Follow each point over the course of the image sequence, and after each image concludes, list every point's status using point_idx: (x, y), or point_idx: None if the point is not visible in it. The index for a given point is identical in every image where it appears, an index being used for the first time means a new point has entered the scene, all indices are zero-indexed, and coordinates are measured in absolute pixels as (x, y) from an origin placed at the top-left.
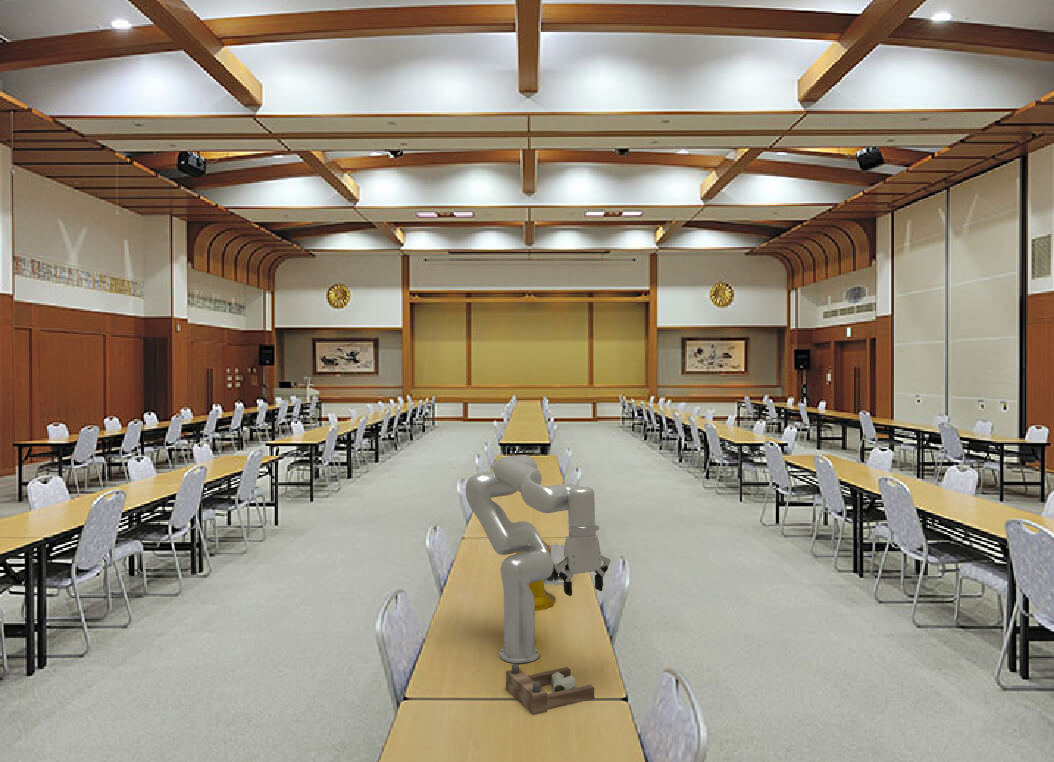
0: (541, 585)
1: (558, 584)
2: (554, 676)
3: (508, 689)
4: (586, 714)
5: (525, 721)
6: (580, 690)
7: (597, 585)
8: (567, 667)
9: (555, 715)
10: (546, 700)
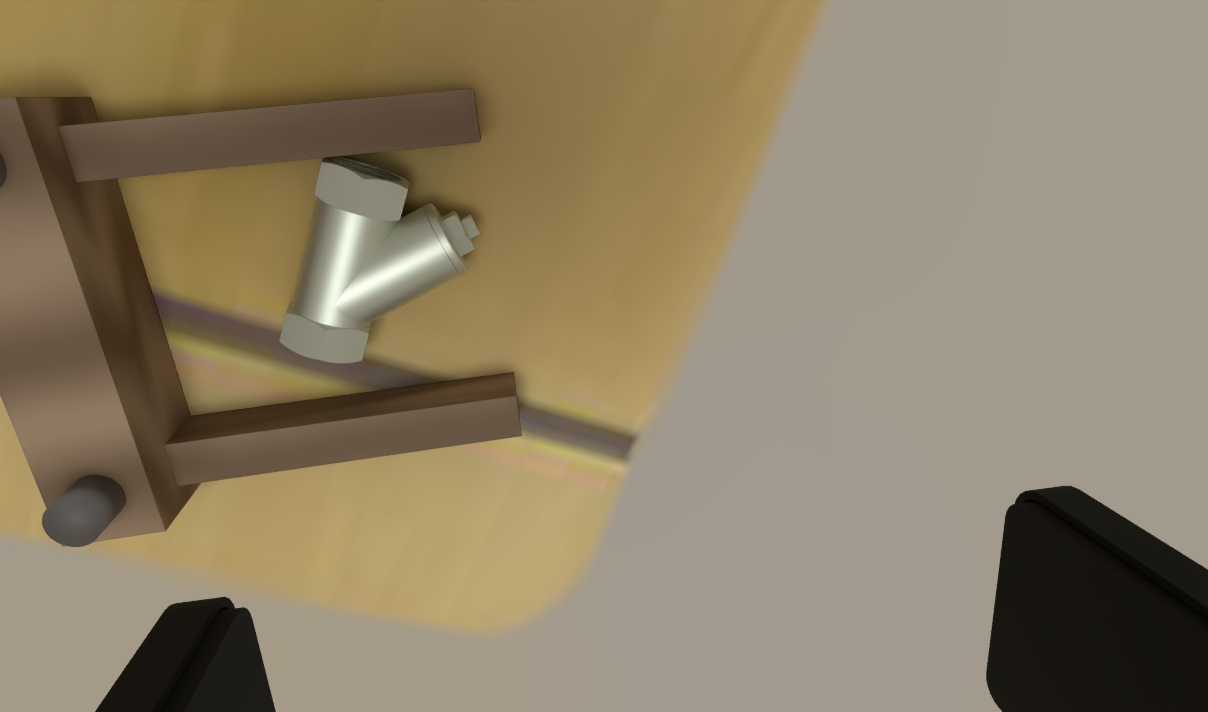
0: None
1: None
2: (327, 211)
3: None
4: (408, 549)
5: None
6: (426, 448)
7: (1065, 666)
8: (471, 97)
9: (245, 520)
10: (181, 505)
